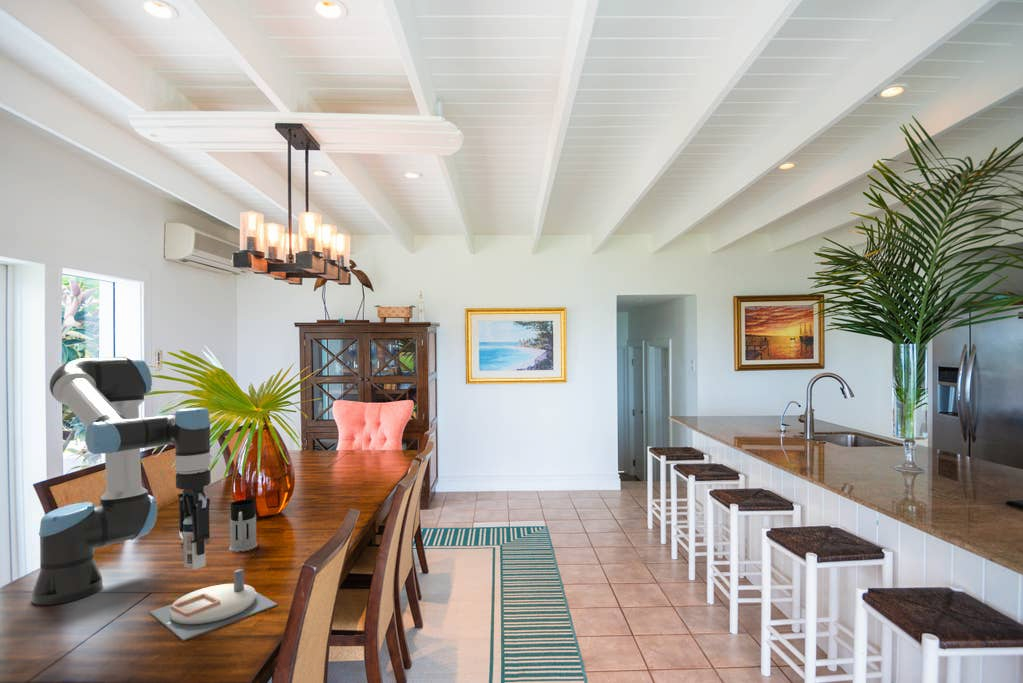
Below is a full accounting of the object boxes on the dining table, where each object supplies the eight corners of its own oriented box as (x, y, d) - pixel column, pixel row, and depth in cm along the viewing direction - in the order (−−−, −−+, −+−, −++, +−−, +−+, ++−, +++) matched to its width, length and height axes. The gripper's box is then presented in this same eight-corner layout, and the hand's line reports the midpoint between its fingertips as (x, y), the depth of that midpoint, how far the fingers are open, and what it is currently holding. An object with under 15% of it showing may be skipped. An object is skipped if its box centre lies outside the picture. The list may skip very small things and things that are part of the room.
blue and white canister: (208, 565, 137) (208, 516, 138) (187, 571, 134) (186, 521, 134) (201, 560, 140) (200, 513, 141) (180, 566, 137) (180, 517, 137)
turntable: (194, 631, 127) (193, 603, 127) (156, 611, 138) (155, 584, 138) (270, 600, 143) (270, 574, 143) (230, 583, 154) (230, 560, 154)
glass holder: (258, 541, 191) (258, 497, 192) (255, 555, 178) (254, 508, 178) (230, 544, 188) (230, 500, 189) (224, 559, 175) (224, 511, 175)
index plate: (183, 641, 125) (183, 637, 125) (149, 613, 139) (149, 609, 139) (277, 605, 142) (277, 602, 142) (239, 583, 156) (239, 580, 156)
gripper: (224, 472, 135) (225, 568, 134) (195, 464, 146) (196, 552, 146) (190, 477, 129) (192, 578, 128) (163, 469, 140) (164, 561, 140)
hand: (194, 564), depth 137 cm, fingers closed on blue and white canister, 5 cm apart
